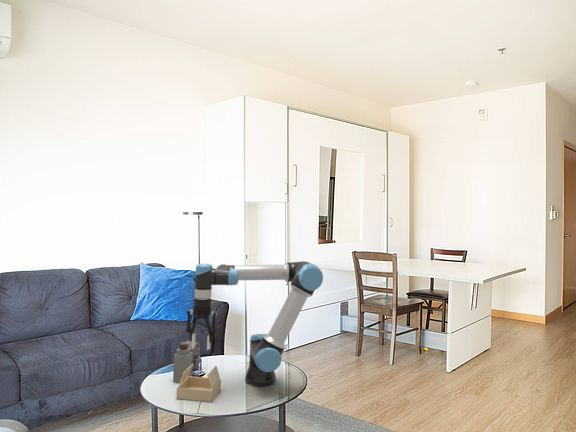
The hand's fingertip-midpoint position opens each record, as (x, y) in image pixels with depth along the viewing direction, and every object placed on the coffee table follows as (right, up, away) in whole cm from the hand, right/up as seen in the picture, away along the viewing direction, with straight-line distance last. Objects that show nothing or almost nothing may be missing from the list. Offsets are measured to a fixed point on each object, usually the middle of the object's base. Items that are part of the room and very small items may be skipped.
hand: (200, 348), depth 216 cm
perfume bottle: (-12, -20, +16) cm, 29 cm away
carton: (-1, -21, 0) cm, 21 cm away
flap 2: (+6, -13, -1) cm, 14 cm away
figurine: (-13, -20, +33) cm, 41 cm away
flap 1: (-7, -12, +1) cm, 14 cm away
